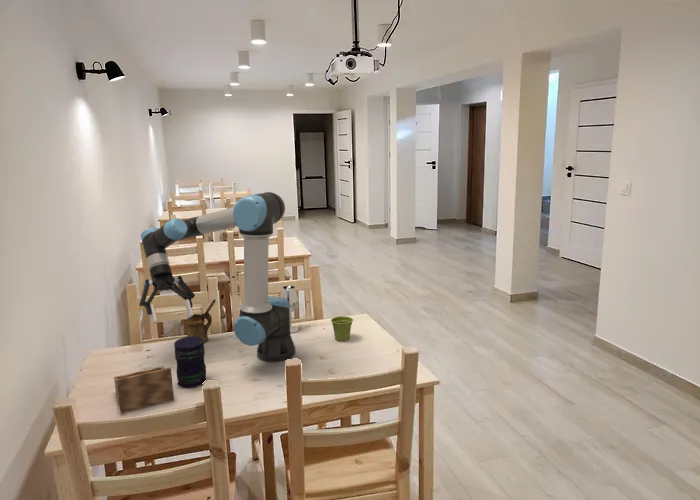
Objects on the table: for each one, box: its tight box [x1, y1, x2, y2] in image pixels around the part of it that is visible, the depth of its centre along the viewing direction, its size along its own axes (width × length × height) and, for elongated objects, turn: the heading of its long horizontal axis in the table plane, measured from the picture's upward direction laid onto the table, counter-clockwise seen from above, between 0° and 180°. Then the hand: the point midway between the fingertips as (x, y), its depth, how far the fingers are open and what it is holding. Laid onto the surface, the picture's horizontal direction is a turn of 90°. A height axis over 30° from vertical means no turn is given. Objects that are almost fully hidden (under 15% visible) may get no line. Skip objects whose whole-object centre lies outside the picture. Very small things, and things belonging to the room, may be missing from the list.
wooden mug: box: [186, 299, 216, 344], centre depth 210 cm, size 9×14×18 cm, turn 102°
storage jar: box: [173, 336, 207, 389], centre depth 173 cm, size 10×10×15 cm
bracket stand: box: [113, 366, 175, 414], centre depth 164 cm, size 16×16×11 cm
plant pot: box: [330, 315, 354, 342], centre depth 210 cm, size 9×9×9 cm
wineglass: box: [280, 285, 299, 334], centre depth 220 cm, size 8×8×20 cm
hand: (173, 319), depth 182 cm, fingers open, 13 cm apart
